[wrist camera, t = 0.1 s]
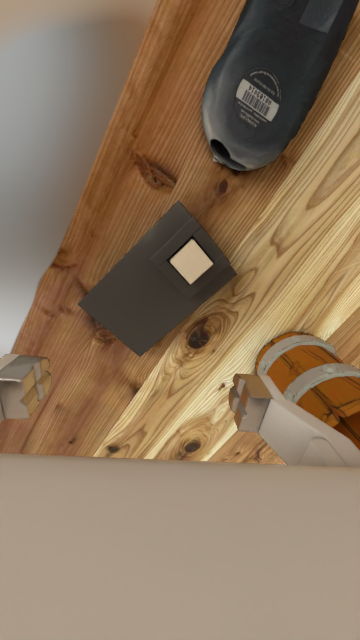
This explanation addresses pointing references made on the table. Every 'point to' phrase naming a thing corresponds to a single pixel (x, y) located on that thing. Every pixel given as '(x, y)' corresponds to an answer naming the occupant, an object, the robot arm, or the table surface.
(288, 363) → the mug
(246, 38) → the dark grey rounded piece
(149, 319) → the push button base
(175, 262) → the beige square push button
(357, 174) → the table surface
